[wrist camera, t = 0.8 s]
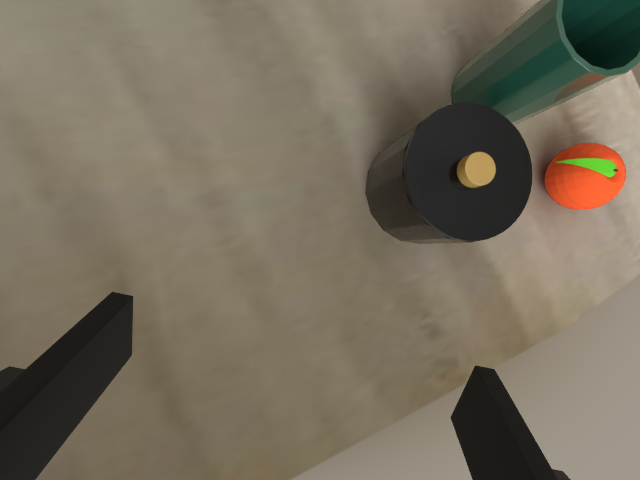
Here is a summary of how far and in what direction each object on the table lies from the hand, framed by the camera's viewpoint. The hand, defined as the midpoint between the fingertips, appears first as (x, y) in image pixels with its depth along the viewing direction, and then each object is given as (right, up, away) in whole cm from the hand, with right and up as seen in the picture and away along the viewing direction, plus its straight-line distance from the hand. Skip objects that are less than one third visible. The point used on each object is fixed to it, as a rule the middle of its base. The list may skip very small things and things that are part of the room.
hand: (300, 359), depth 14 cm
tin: (+19, +20, +26) cm, 38 cm away
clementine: (+27, +11, +28) cm, 41 cm away
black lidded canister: (+11, +10, +25) cm, 29 cm away
